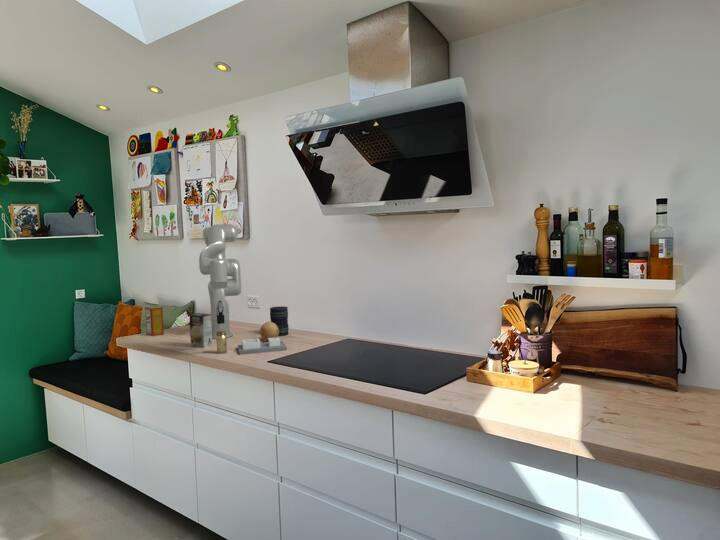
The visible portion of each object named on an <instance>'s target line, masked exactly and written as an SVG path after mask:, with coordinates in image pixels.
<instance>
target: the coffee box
mask: <svg viewBox="0 0 720 540" xmlns="http://www.w3.org/2000/svg"><path fill="white" fill-rule="evenodd" d="M189 332H190V334H189V335H190V336H189V337H190V347H195V348H203V349H204V348H205V349H206V348H208V347H210V346H213V338H212V323H211V313H200V312H198V313H194V314H189Z"/></svg>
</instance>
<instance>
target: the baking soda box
mask: <svg viewBox="0 0 720 540" xmlns="http://www.w3.org/2000/svg"><path fill="white" fill-rule="evenodd" d="M144 311H145V326H146V327H145V329H146V335H148V336H151V337H156V336H162V335H165V334H164V331H165V330H164V329H165V328H164V316H163V307H162V306H159V305H154V306H153V305H152V306H145V307H144Z"/></svg>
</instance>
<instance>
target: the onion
mask: <svg viewBox="0 0 720 540" xmlns="http://www.w3.org/2000/svg"><path fill="white" fill-rule="evenodd" d="M259 331H260V333H259V335H260V336H261V338H262V339H263V340H265V341H267V342H268V338H277V337H279V336H278V335H279V329H278V326H277V325H276V324H275V323H273V322H271V321H266V322H265V323H263V324H262V325H261V327H260V330H259Z"/></svg>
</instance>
